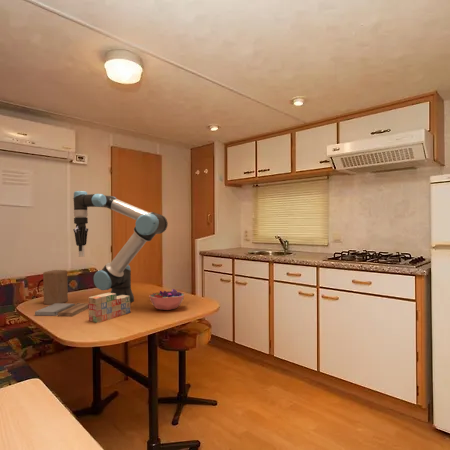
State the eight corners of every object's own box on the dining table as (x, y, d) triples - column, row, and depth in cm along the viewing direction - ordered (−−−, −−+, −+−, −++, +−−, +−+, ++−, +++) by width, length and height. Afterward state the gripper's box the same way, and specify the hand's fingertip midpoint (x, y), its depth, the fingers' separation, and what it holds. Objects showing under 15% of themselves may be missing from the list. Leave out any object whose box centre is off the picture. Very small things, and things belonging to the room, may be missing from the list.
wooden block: (57, 305, 198) (56, 272, 197) (43, 304, 200) (42, 272, 199) (68, 301, 207) (67, 269, 207) (54, 301, 209) (54, 269, 209)
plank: (74, 307, 192) (74, 303, 192) (56, 315, 174) (56, 311, 174) (55, 306, 193) (55, 303, 193) (34, 315, 175) (34, 311, 175)
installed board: (91, 307, 192) (91, 303, 192) (72, 316, 172) (72, 312, 172) (78, 307, 193) (78, 303, 193) (57, 316, 173) (57, 312, 173)
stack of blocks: (123, 311, 182) (122, 289, 182) (130, 312, 179) (130, 290, 179) (88, 321, 164) (88, 296, 164) (96, 323, 161) (95, 298, 161)
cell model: (154, 305, 194) (153, 286, 194) (187, 305, 193) (187, 286, 192) (145, 313, 177) (145, 292, 177) (182, 313, 176) (181, 292, 176)
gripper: (80, 217, 203) (81, 255, 203) (68, 217, 190) (69, 257, 190) (92, 217, 202) (92, 255, 203) (81, 216, 190) (81, 257, 190)
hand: (81, 256), depth 196 cm, fingers closed
